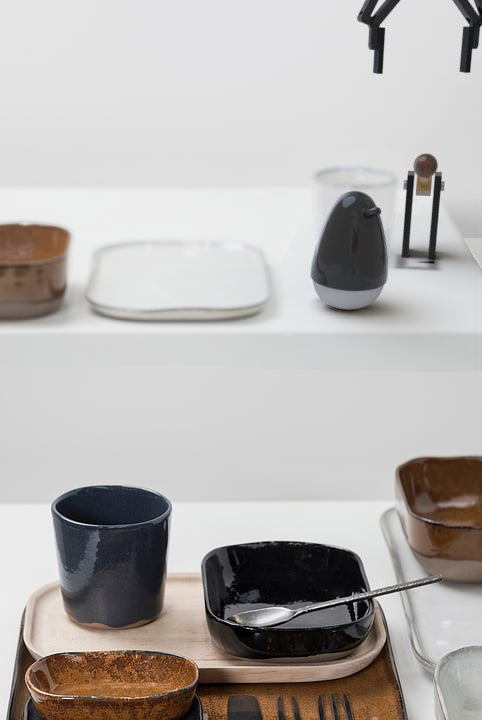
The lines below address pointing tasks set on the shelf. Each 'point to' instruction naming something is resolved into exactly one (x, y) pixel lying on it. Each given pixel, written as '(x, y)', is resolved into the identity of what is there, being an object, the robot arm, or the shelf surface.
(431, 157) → the ball knob lever
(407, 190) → the bracket
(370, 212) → the pump dispenser
